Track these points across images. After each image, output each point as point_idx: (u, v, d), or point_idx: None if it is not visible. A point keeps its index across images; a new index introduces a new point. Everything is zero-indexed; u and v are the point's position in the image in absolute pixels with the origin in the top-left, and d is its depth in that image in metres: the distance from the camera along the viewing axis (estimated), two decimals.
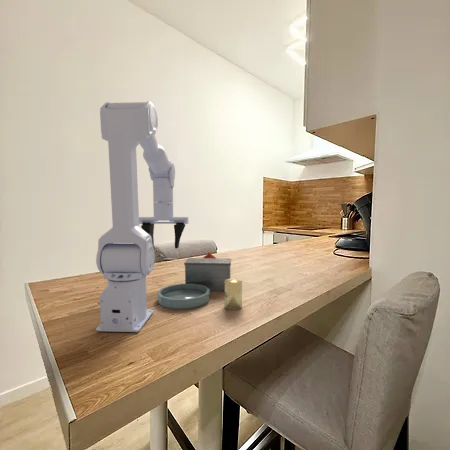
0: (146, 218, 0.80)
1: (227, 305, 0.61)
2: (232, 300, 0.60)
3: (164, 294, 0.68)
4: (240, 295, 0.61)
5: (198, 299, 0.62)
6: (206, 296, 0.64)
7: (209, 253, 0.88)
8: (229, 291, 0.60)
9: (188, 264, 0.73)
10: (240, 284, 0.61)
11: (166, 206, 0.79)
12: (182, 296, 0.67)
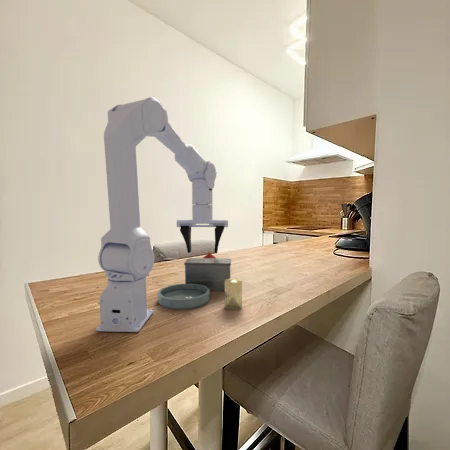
0: (185, 221, 0.77)
1: (227, 305, 0.61)
2: (232, 300, 0.60)
3: (164, 294, 0.68)
4: (240, 295, 0.61)
5: (198, 299, 0.62)
6: (206, 296, 0.64)
7: (209, 253, 0.88)
8: (229, 291, 0.60)
9: (188, 264, 0.73)
10: (240, 284, 0.61)
11: (206, 209, 0.76)
12: (182, 296, 0.67)
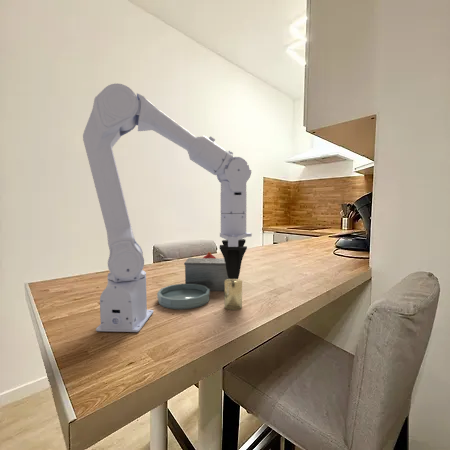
0: None
1: (227, 305, 0.61)
2: (232, 300, 0.60)
3: (164, 294, 0.68)
4: (240, 295, 0.61)
5: (198, 299, 0.62)
6: (206, 296, 0.64)
7: (209, 253, 0.88)
8: (229, 291, 0.60)
9: (188, 264, 0.73)
10: (240, 284, 0.61)
11: (222, 219, 0.59)
12: (182, 296, 0.67)
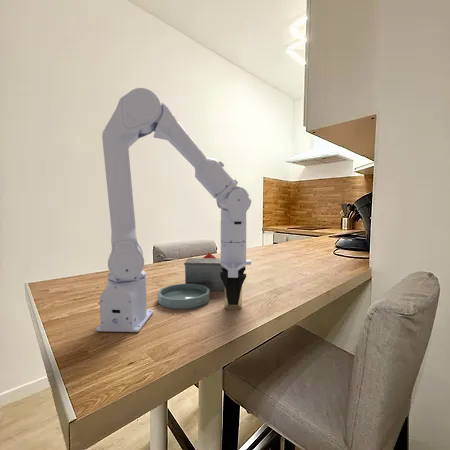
0: None
1: (227, 305, 0.61)
2: None
3: (164, 294, 0.68)
4: (240, 295, 0.61)
5: (198, 299, 0.62)
6: (206, 296, 0.64)
7: (209, 253, 0.88)
8: None
9: (188, 264, 0.73)
10: None
11: (222, 247, 0.60)
12: (182, 296, 0.67)
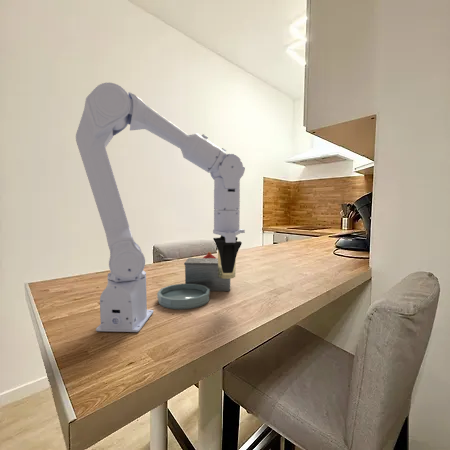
0: None
1: (222, 274, 0.61)
2: None
3: (164, 294, 0.68)
4: None
5: (198, 299, 0.62)
6: (206, 296, 0.64)
7: (209, 253, 0.88)
8: None
9: (188, 264, 0.73)
10: None
11: (216, 215, 0.60)
12: (182, 296, 0.67)
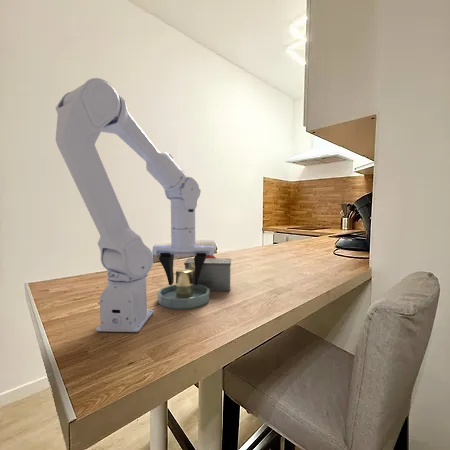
0: (162, 248, 0.65)
1: (189, 293, 0.66)
2: (192, 287, 0.67)
3: (164, 294, 0.68)
4: None
5: (198, 299, 0.62)
6: (206, 296, 0.64)
7: None
8: (190, 279, 0.66)
9: (188, 264, 0.73)
10: None
11: (187, 234, 0.63)
12: None
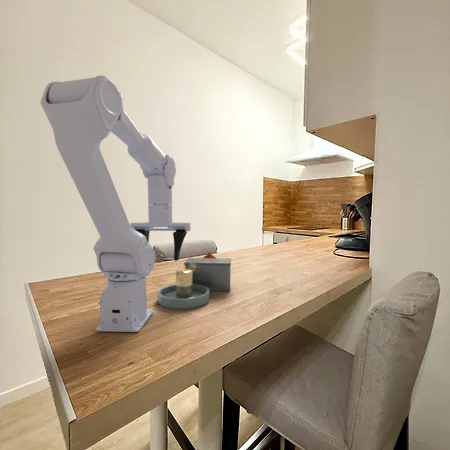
0: (139, 224, 0.66)
1: (189, 293, 0.66)
2: (192, 287, 0.67)
3: (164, 294, 0.68)
4: None
5: (198, 299, 0.62)
6: (206, 296, 0.64)
7: (209, 253, 0.88)
8: (190, 279, 0.66)
9: (188, 264, 0.73)
10: None
11: (164, 210, 0.65)
12: None
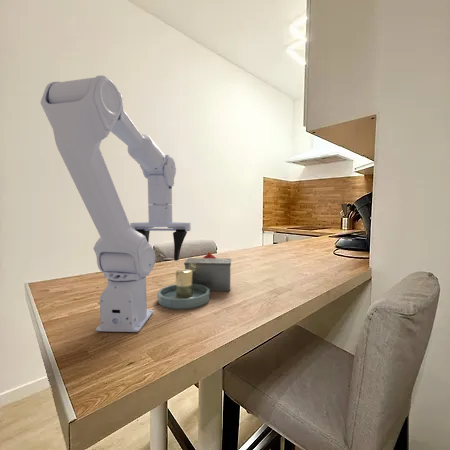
0: (139, 224, 0.66)
1: (189, 293, 0.66)
2: (192, 287, 0.67)
3: (164, 294, 0.68)
4: None
5: (198, 299, 0.62)
6: (206, 296, 0.64)
7: (209, 253, 0.88)
8: (190, 279, 0.66)
9: (188, 264, 0.73)
10: None
11: (164, 210, 0.65)
12: None
